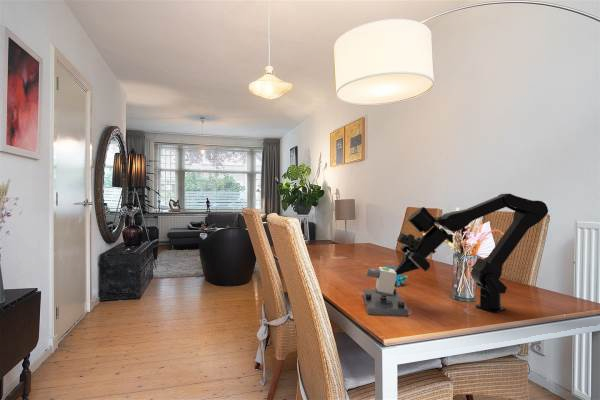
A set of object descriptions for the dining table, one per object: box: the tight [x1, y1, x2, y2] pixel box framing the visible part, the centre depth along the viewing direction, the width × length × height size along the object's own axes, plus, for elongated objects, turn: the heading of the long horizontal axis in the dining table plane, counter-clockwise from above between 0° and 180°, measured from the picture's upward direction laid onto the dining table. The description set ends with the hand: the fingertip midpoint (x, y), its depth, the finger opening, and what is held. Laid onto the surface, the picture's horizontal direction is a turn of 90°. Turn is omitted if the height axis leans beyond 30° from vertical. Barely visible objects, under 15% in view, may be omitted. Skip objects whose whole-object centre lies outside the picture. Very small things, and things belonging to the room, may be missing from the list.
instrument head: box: [366, 266, 397, 296], centre depth 107 cm, size 10×6×9 cm, turn 83°
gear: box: [385, 265, 408, 287], centre depth 132 cm, size 11×6×10 cm
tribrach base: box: [362, 288, 409, 317], centre depth 106 cm, size 12×20×3 cm, turn 173°
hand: (395, 273), depth 106 cm, fingers closed, pressing on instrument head
